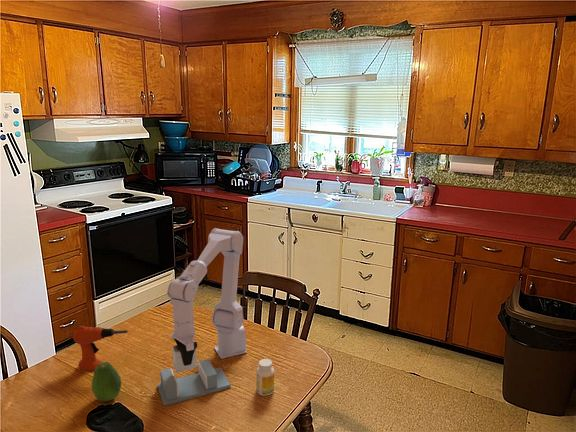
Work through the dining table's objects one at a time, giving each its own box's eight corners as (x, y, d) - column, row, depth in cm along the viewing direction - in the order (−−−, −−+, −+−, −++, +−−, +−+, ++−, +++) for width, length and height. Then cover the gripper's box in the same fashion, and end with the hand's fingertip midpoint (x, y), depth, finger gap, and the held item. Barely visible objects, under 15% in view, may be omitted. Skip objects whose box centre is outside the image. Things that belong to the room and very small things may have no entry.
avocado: (87, 403, 125) (83, 366, 122) (108, 388, 132) (104, 352, 129) (108, 411, 122) (104, 373, 119) (128, 394, 129) (125, 358, 126)
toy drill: (131, 369, 139) (122, 326, 136) (76, 372, 141) (65, 330, 138) (138, 360, 144) (128, 319, 141) (84, 364, 146) (74, 323, 143)
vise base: (220, 370, 142) (220, 355, 140) (230, 387, 133) (230, 371, 132) (157, 386, 133) (156, 370, 132) (163, 406, 124) (162, 389, 123)
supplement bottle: (253, 392, 131) (252, 364, 128) (262, 383, 135) (262, 355, 133) (268, 398, 128) (268, 369, 126) (277, 388, 133) (277, 360, 130)
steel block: (193, 360, 134) (192, 341, 132) (196, 367, 130) (195, 348, 129) (173, 365, 131) (172, 346, 130) (176, 372, 128) (175, 352, 126)
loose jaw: (209, 371, 139) (208, 358, 138) (217, 386, 132) (216, 373, 130) (198, 373, 138) (197, 361, 137) (206, 389, 130) (205, 376, 129)
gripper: (164, 311, 132) (167, 351, 135) (175, 333, 119) (177, 377, 122) (188, 307, 135) (190, 346, 138) (200, 327, 122) (202, 370, 125)
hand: (185, 360), depth 130 cm, fingers closed on steel block, 4 cm apart
